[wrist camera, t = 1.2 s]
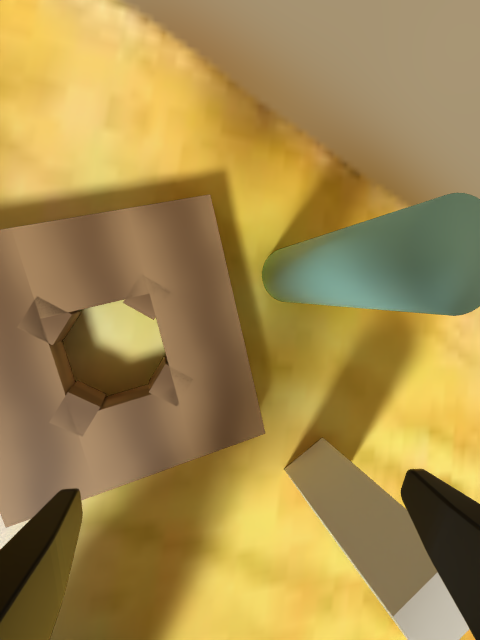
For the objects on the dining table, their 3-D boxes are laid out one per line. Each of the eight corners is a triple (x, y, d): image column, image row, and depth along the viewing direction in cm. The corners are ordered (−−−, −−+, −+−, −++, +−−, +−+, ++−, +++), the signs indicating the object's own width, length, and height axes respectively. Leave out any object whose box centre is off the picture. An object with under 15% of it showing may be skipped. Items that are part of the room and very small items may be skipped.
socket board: (22, 500, 21) (5, 527, 18) (-68, 252, 18) (-101, 246, 16) (254, 419, 24) (265, 433, 22) (203, 205, 22) (210, 194, 20)
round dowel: (268, 307, 24) (417, 329, 10) (256, 254, 23) (400, 203, 10) (316, 294, 25) (509, 299, 11) (306, 243, 24) (497, 184, 11)
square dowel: (308, 504, 26) (430, 670, 15) (283, 469, 25) (393, 616, 14) (345, 472, 27) (488, 608, 15) (322, 437, 26) (456, 553, 15)
